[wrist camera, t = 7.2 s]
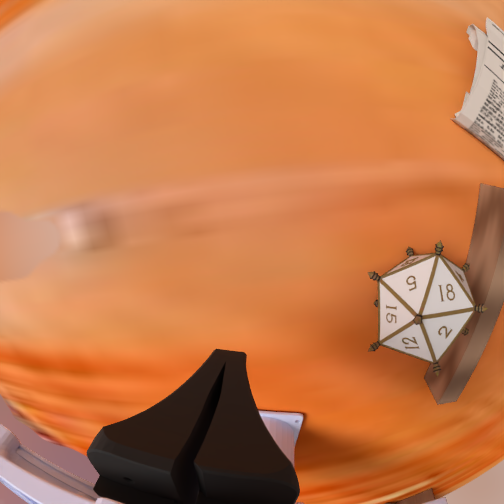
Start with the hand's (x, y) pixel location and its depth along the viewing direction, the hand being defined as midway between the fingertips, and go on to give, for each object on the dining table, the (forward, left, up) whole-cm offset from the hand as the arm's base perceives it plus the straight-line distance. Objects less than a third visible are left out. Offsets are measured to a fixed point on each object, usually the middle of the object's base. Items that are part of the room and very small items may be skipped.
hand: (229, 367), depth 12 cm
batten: (0, -19, -10) cm, 21 cm away
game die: (+1, -12, -10) cm, 16 cm away
